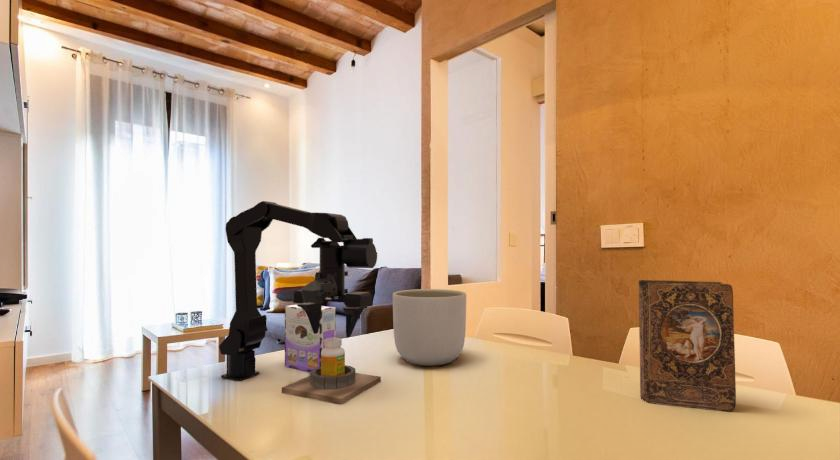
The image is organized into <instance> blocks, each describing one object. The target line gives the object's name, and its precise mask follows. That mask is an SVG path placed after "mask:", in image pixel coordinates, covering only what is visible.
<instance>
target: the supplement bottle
mask: <svg viewBox="0 0 840 460" xmlns="http://www.w3.org/2000/svg"><path fill="white" fill-rule="evenodd" d="M342 340H343V339H342V338H339V337H336V338H327V339H325V340H324V346H325V348H324V349H323V350H322V351H321V376H340V375H345V365H346V362H345V361H346V360H345V359H346V357H345V356H346V354H345V353H346V352H345V349H344V348H343V347H341V346H342V345H343V341H342Z"/></svg>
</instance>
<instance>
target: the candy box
mask: <svg viewBox="0 0 840 460" xmlns="http://www.w3.org/2000/svg"><path fill="white" fill-rule="evenodd" d="M297 304H298V303H294V304H290V305H284V367H285V368H291V369H295V370H299V371H300V370H301V371H304V372H305V371H306V372H309V373H311V371H312V370H313V369H315V368H318V367H321V351H322V350H323V349H324V348H325V346H324V340H325V339H327V338H337V337H336V335H337V334H336V327H337V325H336V324H337V323H336V317H337V316H336V312H337V311H336V310H337V309H336V308H337V307H335V306H327V305H326V306H325V305H322V307H321V316H320V324H319V330H318V333H317V334H314V333H313V330H312V327H311V324H310V321H309V319H308V316H307V314H306V312H305V311H304V310H303V309H302V308H301V307H298V306H297Z"/></svg>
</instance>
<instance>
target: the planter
mask: <svg viewBox="0 0 840 460" xmlns="http://www.w3.org/2000/svg"><path fill="white" fill-rule="evenodd" d="M392 321H393V327H392V328H393V339H394V344H395V345H394V346H395V348H396V351H397V353H398V354H399V355H400V356H401V358H402V359H404V360H405V361H407V362H408V363H410V364H411V365H416V366H423V367H424V366H425V367H434V366H436V367H437V366H443V365H447V364H450V363H451V362H453V361H454V360H456V359H457V358H458V357H459V355H460V354H461V353H462V351H463V348H464V345H465V341H466V340H465V339H466V330H467V328H466V326H467V325H466V324H467V293H466V291H465V292H464V291H461V290H455V289H443V288H442V289H441V288H420V289H419V288H417V289H406V290H405V289H404V290H398V291H395V292H393V293H392Z"/></svg>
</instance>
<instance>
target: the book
mask: <svg viewBox="0 0 840 460" xmlns="http://www.w3.org/2000/svg"><path fill="white" fill-rule="evenodd" d="M733 290H734V289H733V286H732V285H731V284H728V283H723V282H721V281H700V280H699V281H698V280H692V281H691V280H665V279H664V280H660V279H657V280H656V279H655V280H653V279H639V280H638V320H639V323H638V324H639V325H638V326H639V328H638V329H639V330H638V331H639V334H638V335H639V387H640V388H639V389H640V390H639V391H640V392H639V395H640V397H641V398H640V399H641V400H642V399H643V400H644V401H643V400H642V401H643V402H645V401H646V402H645V403H647V402H649V403H648V404H654V403H656V404H655V405H663V404H665V406H672V405H679V406H678V407H681V406H688V407H687V408H690V407H698V408H697V409H700V408H705V409H704V410H709V409H716V410H715V411H721V410H730V411H729V412H733V411H734V410H735V409H736V406H737V405H736V403H737V395H736V394H737V393H736V391H737V390H736V389H737V386H736V383H737V382H736V358H735V357H736V354H735V353H736V352H735V350H736V349H735V318H734V317H735V316H734V291H733Z"/></svg>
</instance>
